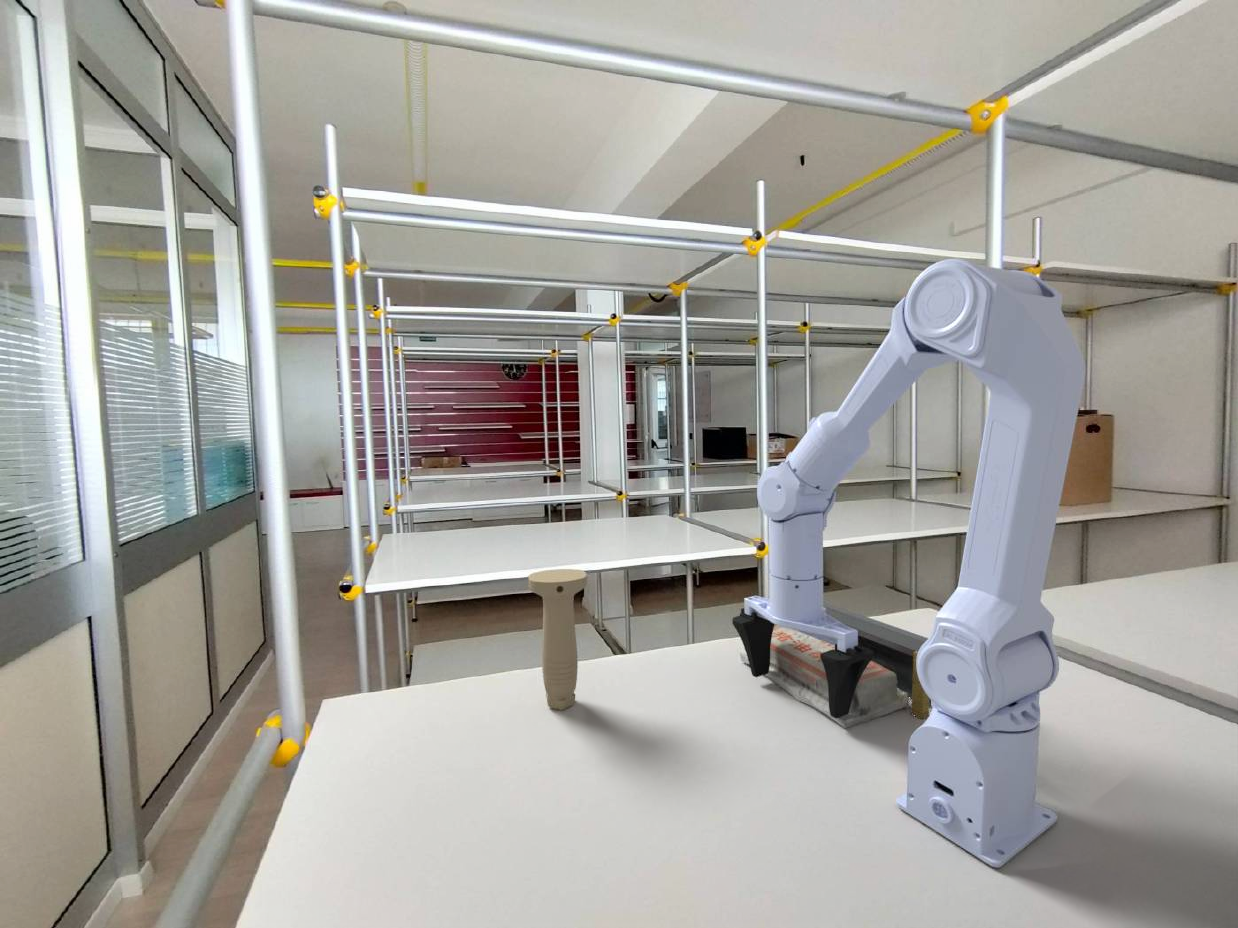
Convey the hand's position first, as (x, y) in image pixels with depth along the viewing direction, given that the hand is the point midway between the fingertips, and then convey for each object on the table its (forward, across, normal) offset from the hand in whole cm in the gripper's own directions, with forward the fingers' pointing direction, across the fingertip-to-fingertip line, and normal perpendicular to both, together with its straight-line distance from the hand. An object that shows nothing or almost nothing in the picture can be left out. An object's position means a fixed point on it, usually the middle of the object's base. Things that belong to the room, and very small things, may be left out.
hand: (796, 692), depth 64 cm
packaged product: (+1, +2, -6) cm, 6 cm away
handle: (+1, +14, +23) cm, 27 cm away
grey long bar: (+1, +1, -11) cm, 11 cm away
